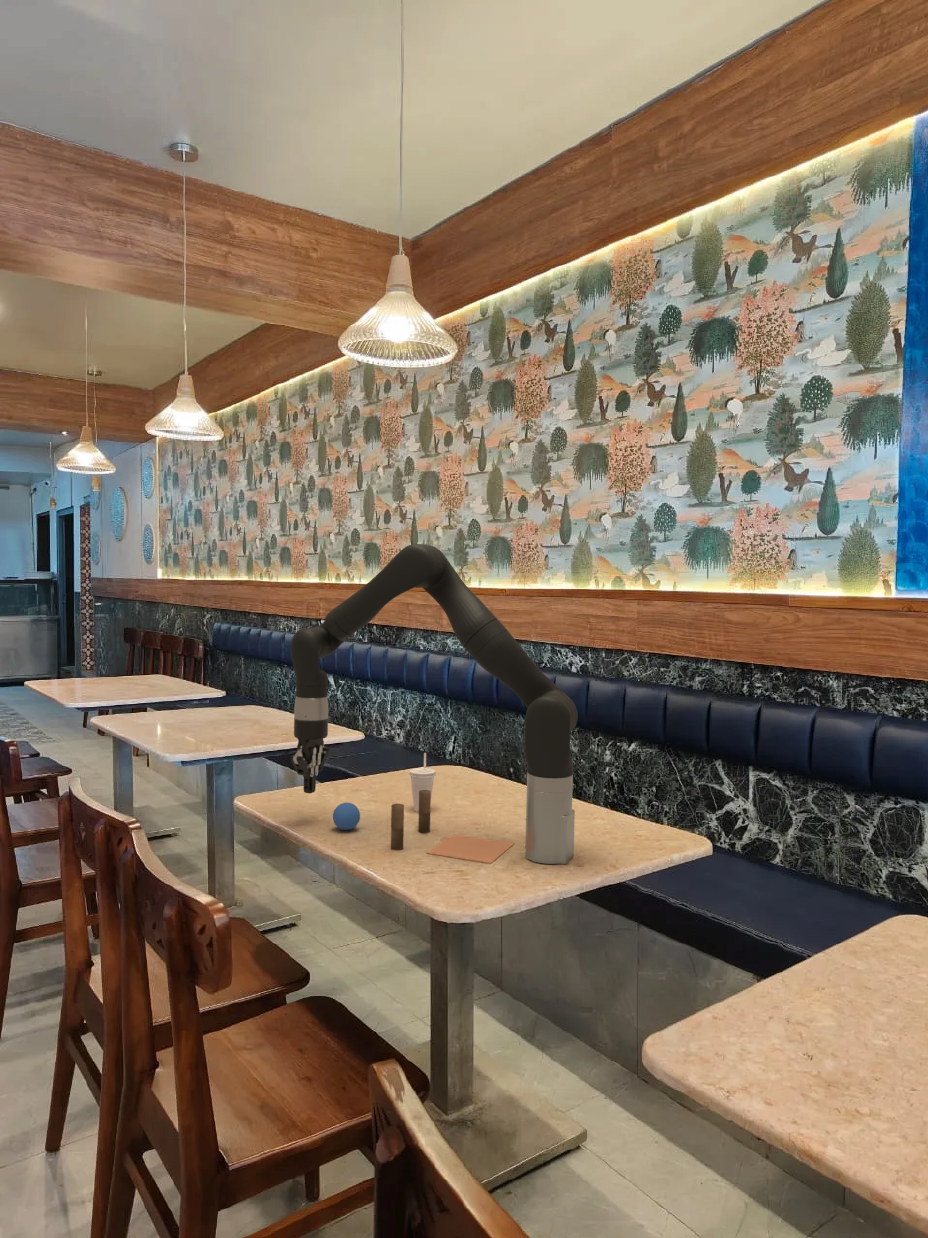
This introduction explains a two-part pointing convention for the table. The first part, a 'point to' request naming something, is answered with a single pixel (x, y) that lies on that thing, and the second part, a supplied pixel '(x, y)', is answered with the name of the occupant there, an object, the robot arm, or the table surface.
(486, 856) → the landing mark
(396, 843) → the left post
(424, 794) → the right post
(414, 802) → the smoothie
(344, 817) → the ball
